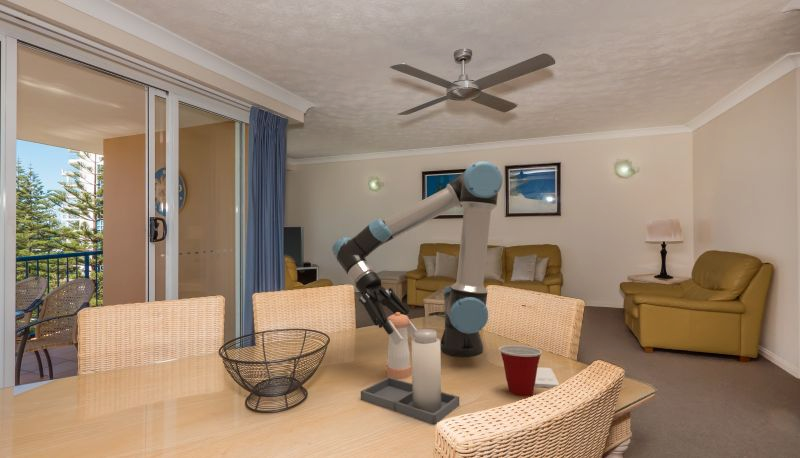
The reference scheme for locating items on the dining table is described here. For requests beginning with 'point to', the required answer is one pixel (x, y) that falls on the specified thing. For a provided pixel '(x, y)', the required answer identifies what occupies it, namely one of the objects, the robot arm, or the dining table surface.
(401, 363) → the pepper shaker
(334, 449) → the dining table surface
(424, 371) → the salt shaker
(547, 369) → the external hard drive
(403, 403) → the shaker caddy
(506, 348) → the plastic cup
